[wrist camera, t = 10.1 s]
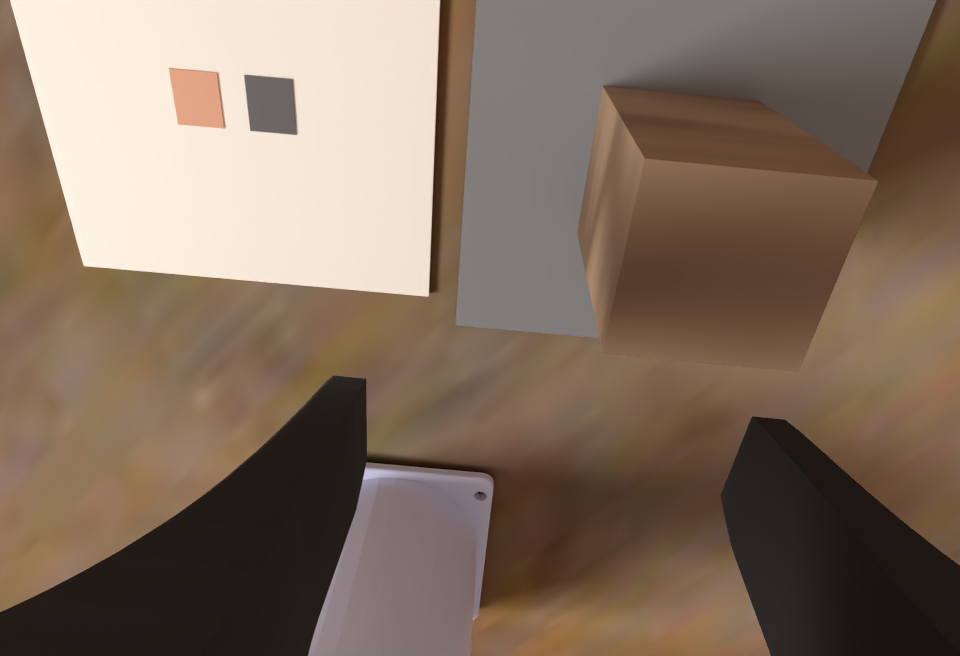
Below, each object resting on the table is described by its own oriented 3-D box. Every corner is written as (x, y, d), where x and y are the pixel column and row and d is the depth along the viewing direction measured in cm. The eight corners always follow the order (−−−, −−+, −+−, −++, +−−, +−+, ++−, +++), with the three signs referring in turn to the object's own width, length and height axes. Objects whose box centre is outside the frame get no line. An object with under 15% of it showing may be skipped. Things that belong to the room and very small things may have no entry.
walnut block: (716, 245, 21) (798, 371, 15) (577, 232, 21) (601, 353, 15) (759, 101, 18) (878, 180, 12) (602, 85, 18) (644, 158, 12)
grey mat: (791, 350, 23) (794, 355, 23) (456, 320, 23) (455, 325, 23) (943, -35, 17) (949, -34, 16) (481, -76, 17) (481, -76, 16)
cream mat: (429, 293, 22) (428, 297, 22) (87, 263, 22) (83, 266, 22) (445, -126, 16) (444, -127, 16) (-31, -168, 16) (-38, -169, 16)
